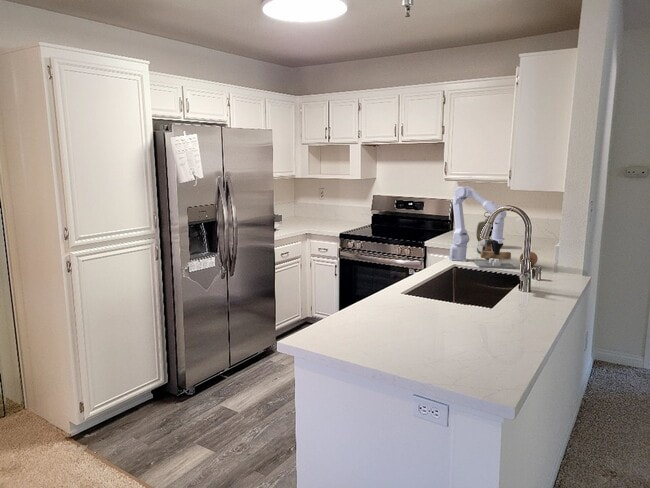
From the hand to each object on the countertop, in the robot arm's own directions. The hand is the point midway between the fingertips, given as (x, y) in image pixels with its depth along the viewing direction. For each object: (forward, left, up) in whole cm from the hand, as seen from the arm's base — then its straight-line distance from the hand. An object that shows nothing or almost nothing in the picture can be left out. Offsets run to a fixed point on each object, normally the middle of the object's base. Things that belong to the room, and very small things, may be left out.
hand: (495, 253), depth 270 cm
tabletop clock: (+11, +63, -7) cm, 64 cm away
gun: (+2, +30, -7) cm, 31 cm away
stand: (0, 0, -7) cm, 7 cm away
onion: (+20, +4, -7) cm, 22 cm away
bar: (0, 0, -2) cm, 2 cm away
